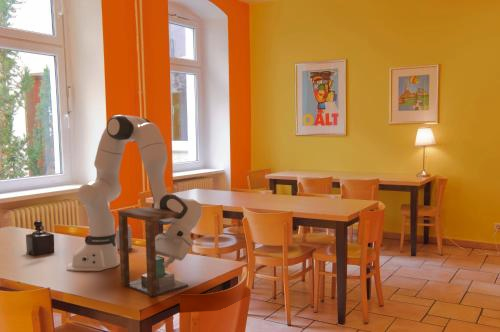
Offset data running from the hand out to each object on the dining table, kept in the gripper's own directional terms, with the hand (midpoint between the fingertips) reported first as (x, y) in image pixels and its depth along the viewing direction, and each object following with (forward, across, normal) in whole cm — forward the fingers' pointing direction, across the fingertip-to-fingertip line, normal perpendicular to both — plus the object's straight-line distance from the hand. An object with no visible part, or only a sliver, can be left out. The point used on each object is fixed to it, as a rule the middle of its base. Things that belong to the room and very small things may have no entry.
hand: (156, 264), depth 189 cm
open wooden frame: (+8, 0, +3) cm, 8 cm away
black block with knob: (+12, -86, 0) cm, 87 cm away
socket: (+6, 0, +6) cm, 8 cm away
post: (+5, 0, +6) cm, 8 cm away
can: (-11, -62, +23) cm, 67 cm away
